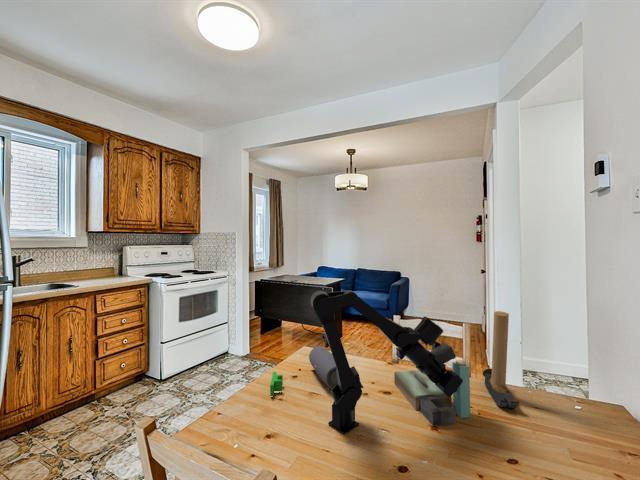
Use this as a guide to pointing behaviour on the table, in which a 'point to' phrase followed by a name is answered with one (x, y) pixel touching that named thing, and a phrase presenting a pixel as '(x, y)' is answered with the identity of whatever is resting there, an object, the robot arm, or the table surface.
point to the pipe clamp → (276, 383)
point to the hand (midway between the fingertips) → (455, 390)
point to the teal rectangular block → (462, 390)
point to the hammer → (499, 363)
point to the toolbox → (426, 397)
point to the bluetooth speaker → (324, 365)
